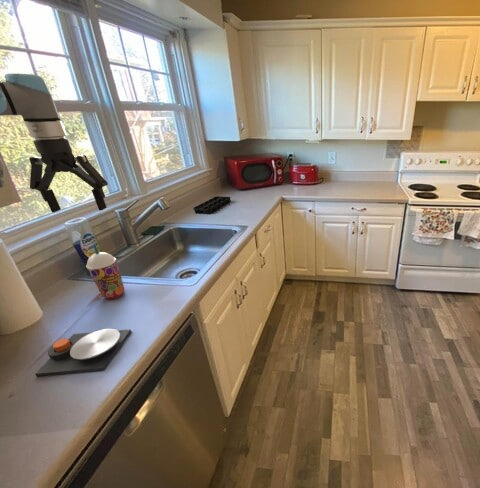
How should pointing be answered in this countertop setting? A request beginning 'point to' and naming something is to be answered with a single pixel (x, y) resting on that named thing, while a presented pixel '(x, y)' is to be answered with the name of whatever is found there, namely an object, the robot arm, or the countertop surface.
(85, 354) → the platter
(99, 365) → the scale
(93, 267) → the smoothie
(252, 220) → the countertop surface
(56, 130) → the robot arm
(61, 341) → the tare button
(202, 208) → the egg carton
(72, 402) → the countertop surface
